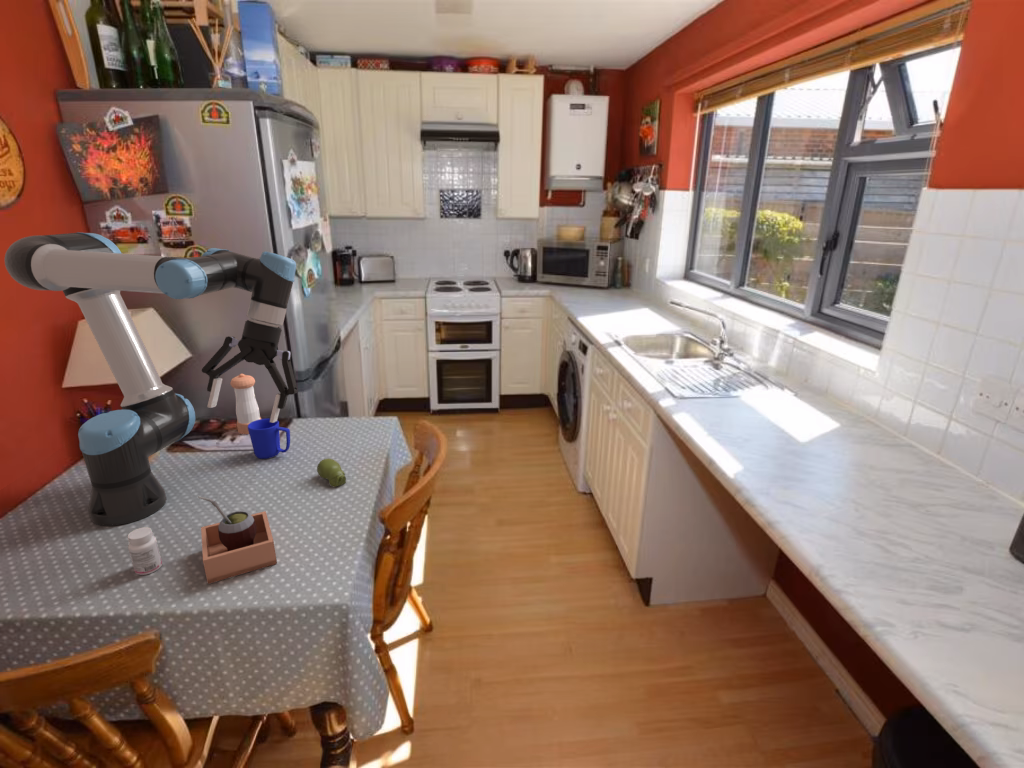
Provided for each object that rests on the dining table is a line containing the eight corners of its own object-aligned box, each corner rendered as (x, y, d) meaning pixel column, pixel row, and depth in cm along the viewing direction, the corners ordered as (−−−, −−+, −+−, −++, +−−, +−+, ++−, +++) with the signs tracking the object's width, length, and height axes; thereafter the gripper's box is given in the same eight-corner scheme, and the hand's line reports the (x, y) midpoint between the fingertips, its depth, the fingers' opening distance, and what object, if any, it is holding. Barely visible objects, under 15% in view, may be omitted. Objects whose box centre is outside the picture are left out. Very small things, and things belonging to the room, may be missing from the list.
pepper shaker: (233, 433, 169) (223, 376, 162) (247, 424, 176) (238, 369, 169) (253, 435, 168) (244, 378, 161) (267, 426, 174) (259, 371, 168)
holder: (207, 584, 103) (202, 560, 102) (205, 549, 114) (201, 527, 112) (277, 563, 110) (273, 541, 108) (269, 532, 120) (265, 511, 118)
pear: (331, 452, 145) (351, 470, 140) (331, 468, 148) (351, 486, 142) (312, 459, 141) (332, 477, 136) (313, 475, 144) (332, 494, 138)
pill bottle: (143, 560, 110) (134, 526, 107) (167, 559, 110) (158, 525, 107) (129, 576, 105) (119, 540, 102) (154, 575, 106) (145, 539, 103)
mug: (284, 464, 150) (279, 432, 147) (246, 459, 152) (241, 428, 149) (300, 451, 158) (296, 420, 154) (264, 447, 160) (259, 417, 157)
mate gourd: (266, 542, 114) (256, 481, 109) (241, 566, 107) (229, 501, 102) (236, 537, 116) (225, 477, 111) (209, 560, 109) (196, 496, 104)
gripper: (324, 337, 123) (303, 424, 125) (214, 308, 120) (193, 398, 121) (316, 337, 116) (293, 430, 117) (198, 307, 113) (176, 402, 114)
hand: (242, 414), depth 119 cm, fingers open, 13 cm apart
